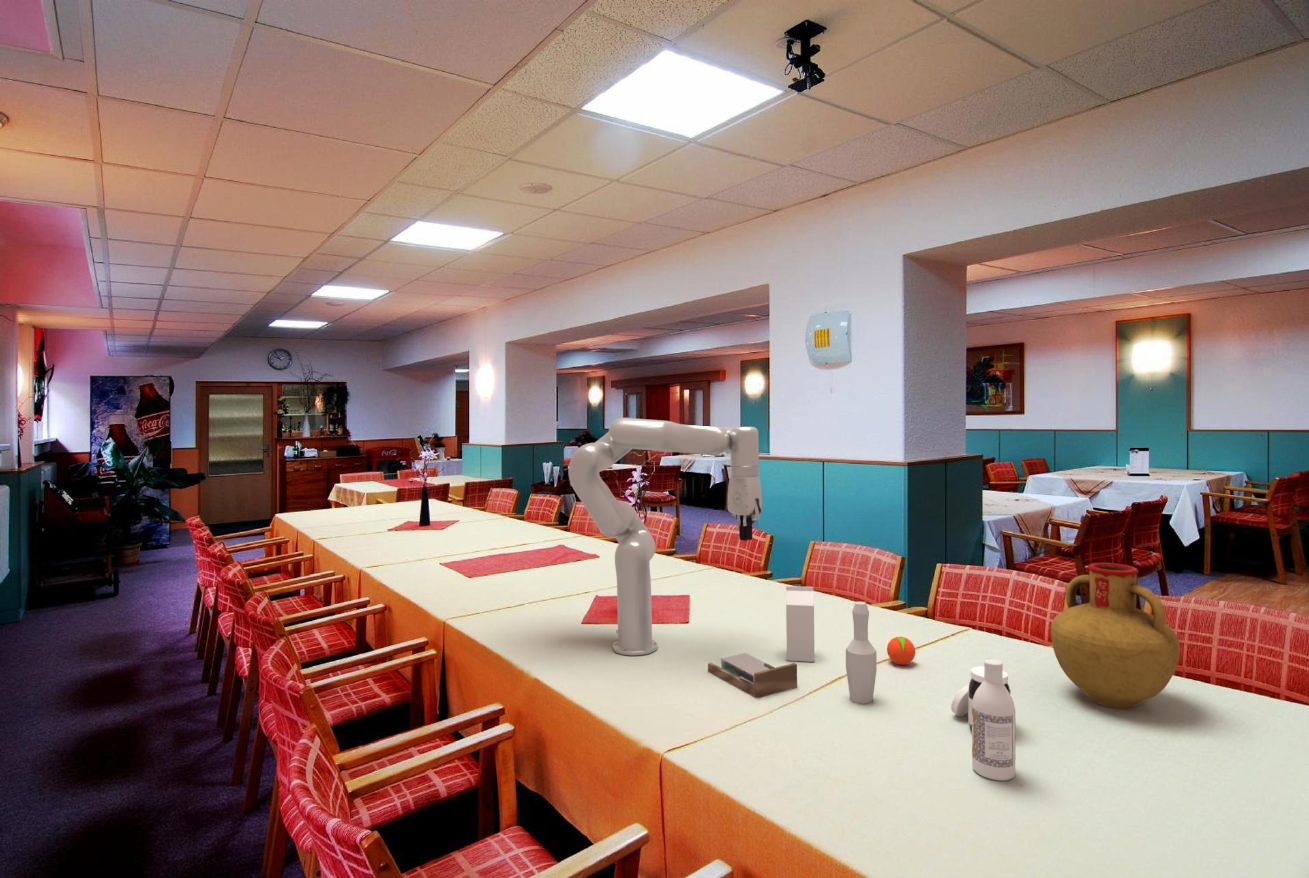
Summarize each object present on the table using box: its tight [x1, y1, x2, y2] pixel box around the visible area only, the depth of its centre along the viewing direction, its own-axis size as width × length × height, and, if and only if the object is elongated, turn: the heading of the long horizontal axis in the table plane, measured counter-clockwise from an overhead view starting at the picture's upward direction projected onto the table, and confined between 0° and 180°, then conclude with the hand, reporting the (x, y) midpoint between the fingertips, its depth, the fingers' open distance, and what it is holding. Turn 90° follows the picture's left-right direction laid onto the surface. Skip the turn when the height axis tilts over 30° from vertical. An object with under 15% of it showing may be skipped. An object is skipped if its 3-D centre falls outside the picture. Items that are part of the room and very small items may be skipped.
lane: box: [707, 662, 798, 699], centre depth 168 cm, size 20×12×6 cm, turn 30°
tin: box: [720, 652, 764, 677], centre depth 173 cm, size 8×8×4 cm
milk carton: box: [785, 585, 816, 663], centre depth 183 cm, size 7×7×19 cm
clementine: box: [886, 636, 916, 666], centre depth 176 cm, size 8×7×7 cm
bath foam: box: [971, 658, 1016, 782], centre depth 123 cm, size 7×7×20 cm
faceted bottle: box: [845, 601, 878, 705], centre depth 155 cm, size 6×6×22 cm
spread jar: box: [950, 665, 1012, 729], centre depth 142 cm, size 12×11×12 cm
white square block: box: [739, 661, 769, 683], centre depth 166 cm, size 8×8×4 cm
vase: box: [1050, 562, 1181, 709], centre depth 152 cm, size 24×24×30 cm
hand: (745, 539), depth 186 cm, fingers closed
